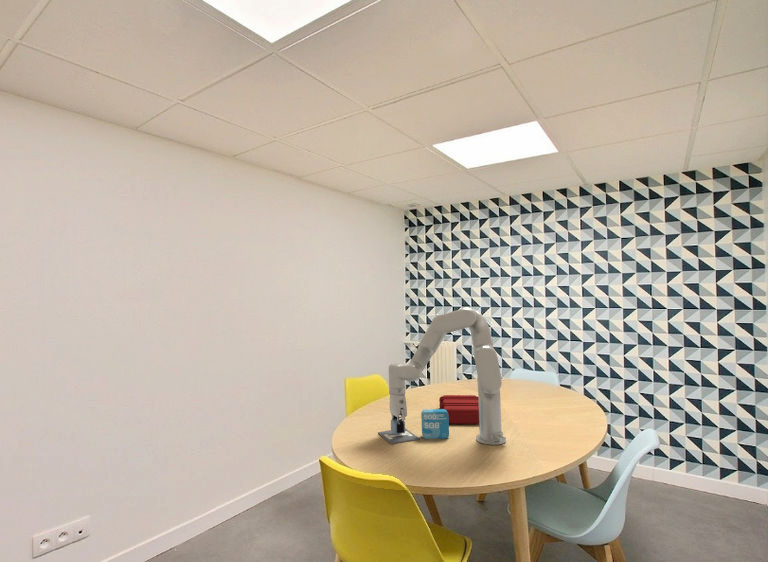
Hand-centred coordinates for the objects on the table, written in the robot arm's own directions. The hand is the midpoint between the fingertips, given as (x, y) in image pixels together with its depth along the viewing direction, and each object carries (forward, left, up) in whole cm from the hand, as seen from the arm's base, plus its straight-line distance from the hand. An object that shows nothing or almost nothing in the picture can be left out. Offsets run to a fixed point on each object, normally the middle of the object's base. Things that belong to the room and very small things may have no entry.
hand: (398, 430), depth 181 cm
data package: (-8, -15, -3) cm, 17 cm away
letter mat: (0, 0, -3) cm, 3 cm away
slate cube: (0, 0, -1) cm, 1 cm away
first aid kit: (+15, -44, -3) cm, 46 cm away
